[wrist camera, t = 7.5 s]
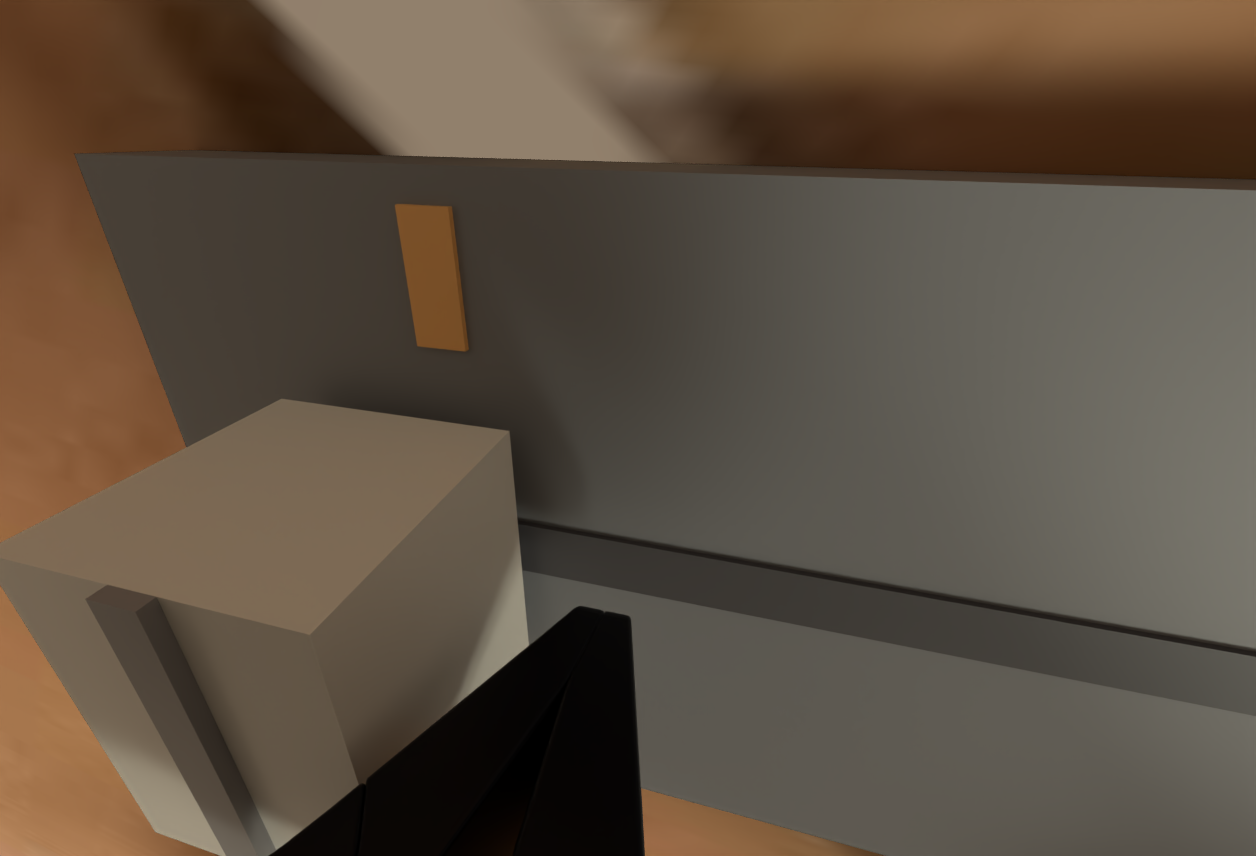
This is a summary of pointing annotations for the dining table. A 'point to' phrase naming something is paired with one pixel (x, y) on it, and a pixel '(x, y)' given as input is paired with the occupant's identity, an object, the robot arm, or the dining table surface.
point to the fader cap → (277, 610)
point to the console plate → (800, 454)
